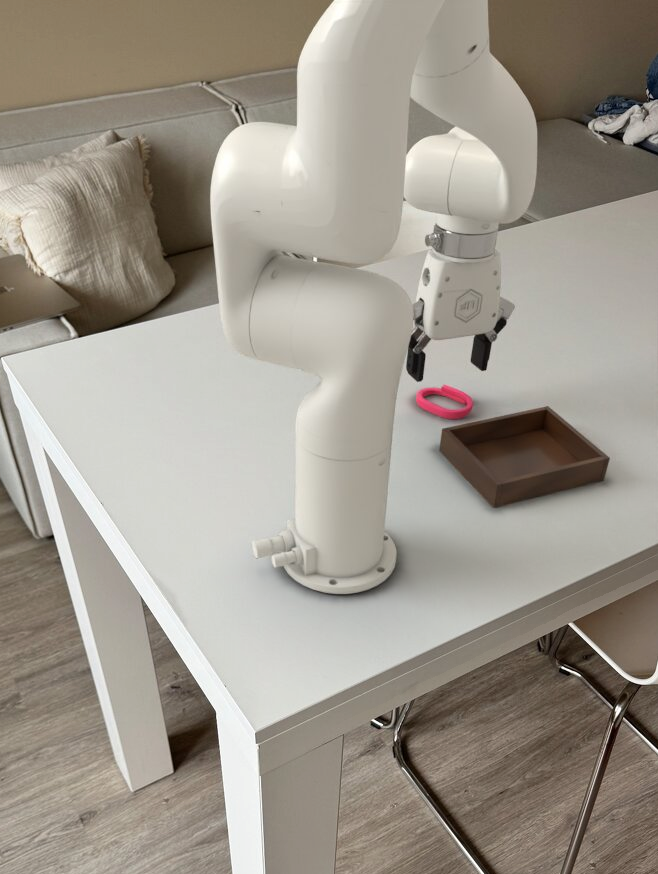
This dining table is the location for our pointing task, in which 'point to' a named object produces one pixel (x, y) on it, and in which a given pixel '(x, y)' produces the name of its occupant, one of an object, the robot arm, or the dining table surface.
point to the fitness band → (449, 393)
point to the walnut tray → (522, 456)
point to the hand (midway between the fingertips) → (446, 371)
